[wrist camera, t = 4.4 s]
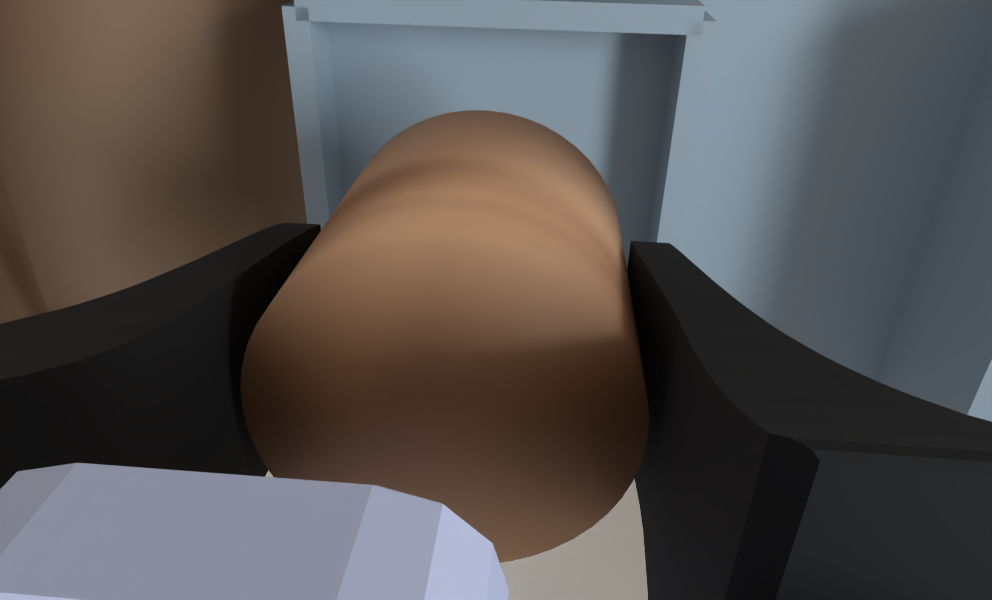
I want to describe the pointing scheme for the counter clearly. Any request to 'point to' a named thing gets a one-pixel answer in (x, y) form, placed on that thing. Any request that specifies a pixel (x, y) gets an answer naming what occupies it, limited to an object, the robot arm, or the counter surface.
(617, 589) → the counter surface
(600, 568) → the counter surface
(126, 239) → the caddy
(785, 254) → the tray
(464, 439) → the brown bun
